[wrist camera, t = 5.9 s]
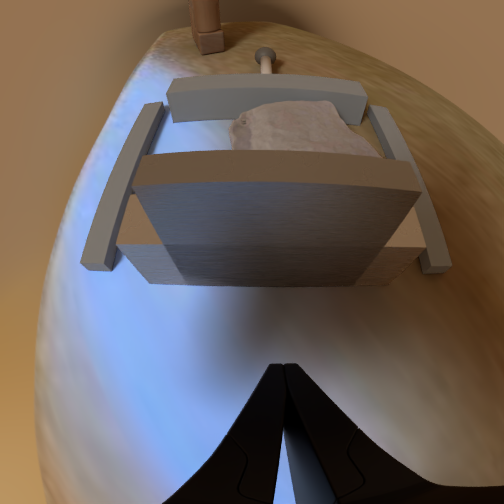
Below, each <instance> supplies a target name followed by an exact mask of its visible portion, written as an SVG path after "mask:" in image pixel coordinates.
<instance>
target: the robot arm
mask: <svg viewBox="0 0 504 504" xmlns="http://www.w3.org/2000/svg"><path fill="white" fill-rule="evenodd" d="M283 433H284V439H285V445H286V450H287V456H288V462H289V467H290V473H291V479H292V484H293V490H294V496H295V501H296V504H504V486H488V487H460V486H443V485H438V484H435V483H432V482H430V481H428V480H426V479H424V478H422V477H421V476H419V475H418V474H416V473H415V472H413V471H412V470H410V469H409V468H407V467H406V466H405V465H403V464H402V463H400V462H399V461H397V460H396V459H395V458H393V457H392V456H391V455H389V454H388V453H387V452H385V451H384V450H383V449H382V448H380V447H379V446H378V445H377V444H376V443H375V442H373V441H372V440H371V439H370V438H369V437H368V436H367V435H366V434H365V433H364V432H363V431H362V430H361V429H360V428H358V426H357V425H356V424H355V423H354V422H353V421H352V420H351V419H350V418H349V417H348V416H347V415H346V414H345V413H344V412H343V411H342V410H341V409H340V408H339V407H338V406H337V405H336V404H335V403H334V402H333V401H332V400H331V399H330V398H329V397H328V396H327V395H326V394H325V393H324V392H323V391H322V389H321V388H320V387H319V386H318V385H317V384H316V383H315V382H314V381H313V380H312V379H311V378H310V377H309V376H308V375H307V374H306V373H305V371H304V370H303V369H302V368H301V367H300V366H299V365H298V364H296V363H286V364H284V365H283V364H269V366H268V367H267V369H266V371H265V373H264V374H263V376H262V378H261V379H260V381H259V383H258V384H257V386H256V388H255V389H254V391H253V393H252V394H251V396H250V398H249V399H248V401H247V403H246V404H245V406H244V407H243V409H242V411H241V412H240V414H239V415H238V417H237V419H236V420H235V422H234V423H233V425H232V426H231V428H230V429H229V431H228V432H227V435H225V437H224V438H223V440H222V441H221V443H220V444H219V446H218V447H217V448H216V450H215V451H214V452H213V454H212V455H211V456H210V457H209V459H208V460H207V461H206V462H205V463H204V464H203V465H202V466H201V467H200V469H199V470H198V471H197V472H196V473H195V474H194V475H193V476H192V477H191V478H190V479H189V480H188V481H187V482H185V483H184V484H183V485H182V486H181V487H180V488H179V489H178V490H177V491H176V492H175V493H174V494H173V495H172V496H171V497H169V498H168V499H167V500H166V501H165V502H163V503H162V504H273V501H274V494H275V488H276V481H277V474H278V467H279V459H280V451H281V443H282V435H283Z"/></svg>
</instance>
